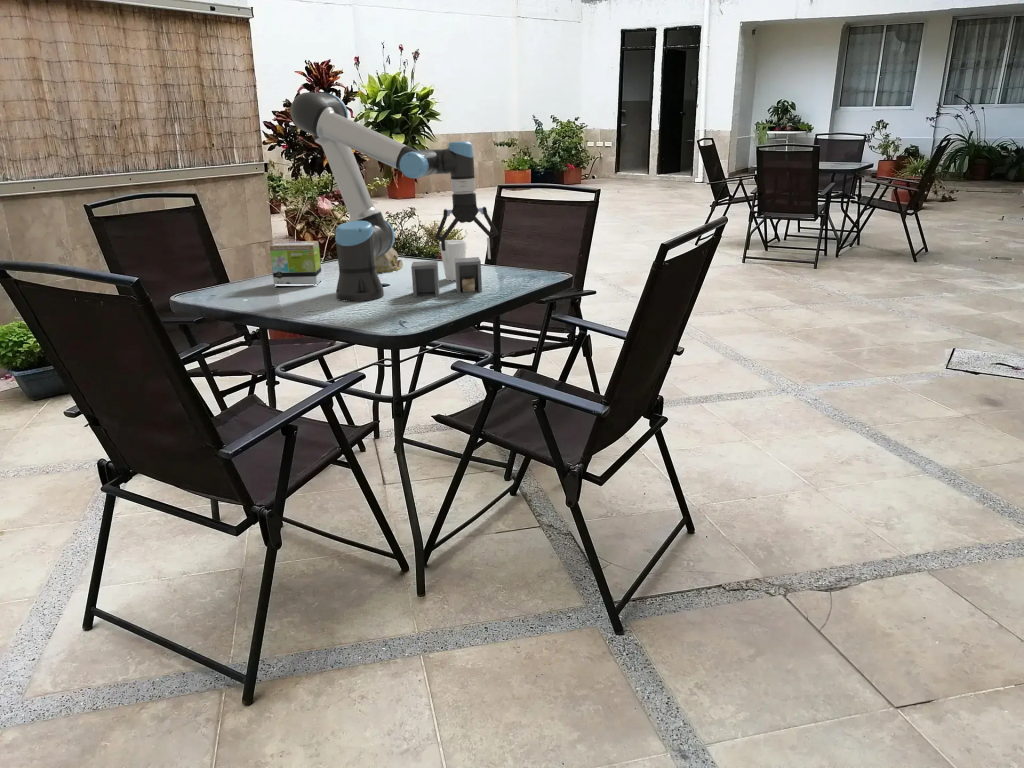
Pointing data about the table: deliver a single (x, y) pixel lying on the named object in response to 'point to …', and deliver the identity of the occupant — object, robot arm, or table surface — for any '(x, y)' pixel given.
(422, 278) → the near cover
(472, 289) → the letter cube
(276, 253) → the tea box
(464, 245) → the foam cup
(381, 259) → the ceramic model
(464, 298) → the table surface
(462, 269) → the far cover
